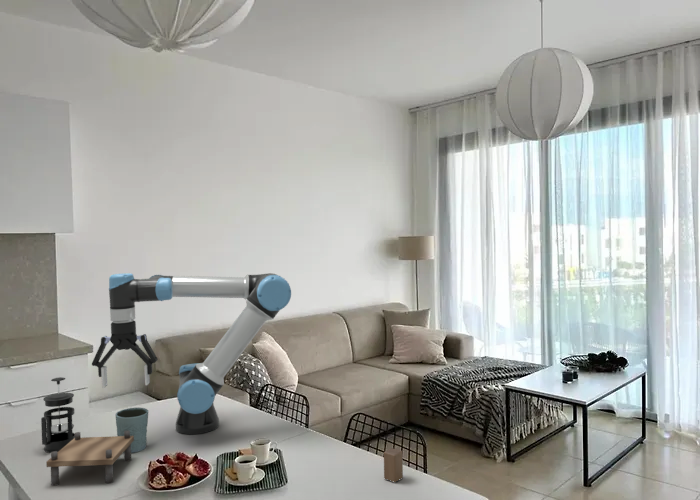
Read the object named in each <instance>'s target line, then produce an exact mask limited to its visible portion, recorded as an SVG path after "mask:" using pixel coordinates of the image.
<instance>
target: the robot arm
mask: <svg viewBox="0 0 700 500" xmlns="http://www.w3.org/2000/svg"><path fill="white" fill-rule="evenodd" d="M108 279H109V280H108V282H109V283H108V293H109V294H108V295H109V313H110V315H109V317H110V321H111V323H110V333H111V336H107V335H104V336H103V337H101V338H100V344H99V347H98V349H97V351H96V354H95V356H94V358H93V361H92V362H91V366H93V367H97V372H98V375H97V376H98V377H99V378H101V388H102V389H104V388H106V387H107V386H108V373H107V372H108V370H107V368H108V367H107V365H105V364H106V363H107V361H108V360H109V359H110V358H111V357H112V355H114V353H115V352H116V351H117V350H118V351H122V350H124V351H125V350H130V349H131V350H132V351H133V352H134V353H135V354H136V355H138V357H139V358H140V359H141V360H142V361H143V362H144V363H145V364H144V366H143V367H144V370H143V371H144V385H145V386H149V384H150V383H151V382H150V379H151V378H150V375H152V374H153V364H154V363H157V362H158V357H157V355H156V353H155V352H154V349H153V348H152V347H151V345H150V343H149V341H148V338H147V334H146V333H143V334H140V335H137V324H136V320H135V319H136V305H135V303H140V302H143V303H144V302H164V301H169V300H172V299H173V298H214V299H215V298H221V299H222V298H223V299H225V298H226V299H227V298H228V299H244V300H245V302H246V305H245V308H243V310H242V311H241V313H240V314H239V315H238V317H237V318H236V319H235V321H234V322H233V323H232V325H231V326H230V327H229V328H228V329H227V331H226V332H225V334H224V335H223V336H222V337H221V339H220V340H219V341H218V343H217V344H216V345H215V346H214V348H213V349H212V351H211V352H210V353H209V355H207V357H206V359H205V360H204V361H203V362H200V363H188V364H183V365H181V366H179V371H178V375H179V385H178V390H177V394H176V396H177V397H176V398H177V402H178V404H179V406H180V407H179V411H178V413H177V418H176V421H175V431H176V432H177V433H180V434H183V435H198V434H205V433H209V432H212V431H214V430H216V429H217V428H218V427H219V426H220V421H219V420H220V419H219V416H218V413H217V410H216V407H215V404H214V402H215V398H216V396H217V395H218V394H219V392H220V390H221V389H222V388H223V386H224V385H225V380H224V379H225V376H226V375H227V374H228V373H229V371H230V370H231V368H232V367H233V366H234V365H235V363H236V362H237V361H238V359H239V358H240V357H241V355H242V353H244V351H245V350H246V348H247V347H248V346H249V344H251V342H252V340H253V339H254V338H255V336H256V335H257V334H258V333H259V331H260V330H261V329H262V327H263V326H264V325H265V323H266V322H267V321H271V320H274V318H275V317H276V316H277V314H279V312H280V311H281V310H282V309H284V308H286V306H288V304H289V303H290V300H291V297H292V289H291V286H290V283H289V282H288V281H287V280H286V279H285V278H284V277H282V276H281V275H278V274H275V273H271V272H270V273H261V274H259V273H258V274H247V275H246V276H243V277H241V276H240V277H239V276H237V277H236V276H199V275H197V276H196V275H195V276H192V275H189V276H188V275H186V276H185V275H162V274H154V275H152V276H150V277H149V278H141V279H140V278H135V277H134V274H133V273H130V272H129V273H114V274H111V275H110V276H109V278H108ZM137 341H139V342H140V344H141V345H142V346H143V348H144V350H145V351H146V353H145V351H144V350H142V348H141V347H140V345H139V344H138V343H137ZM109 342H110V343H111V344H112V346H111V347H110V348H109V350H108V351H107V352H106V354H105V355H104V357H102V355H103V353H104V351H105V349H106V346H107V344H109ZM101 358H102V359H101ZM100 360H101V361H100Z"/></svg>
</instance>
